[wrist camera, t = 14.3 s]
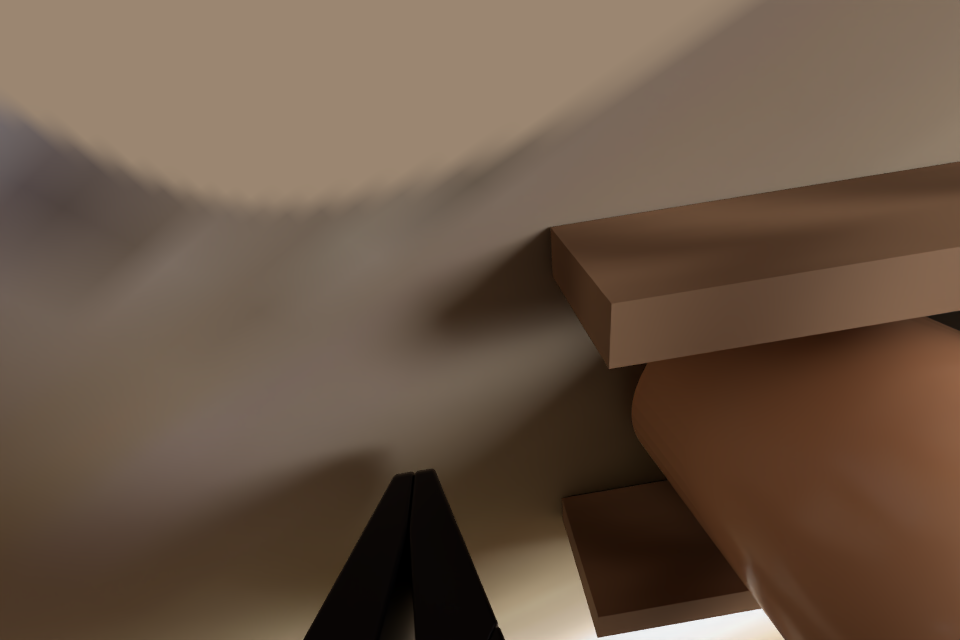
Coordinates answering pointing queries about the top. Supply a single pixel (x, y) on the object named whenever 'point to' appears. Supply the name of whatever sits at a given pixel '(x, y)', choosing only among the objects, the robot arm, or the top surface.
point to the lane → (735, 341)
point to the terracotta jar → (823, 473)
